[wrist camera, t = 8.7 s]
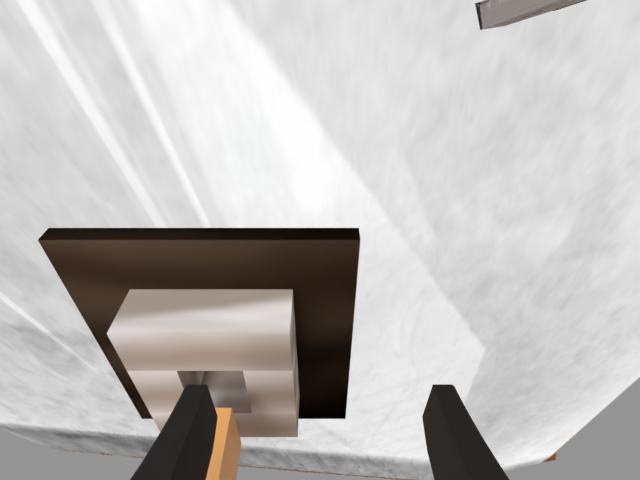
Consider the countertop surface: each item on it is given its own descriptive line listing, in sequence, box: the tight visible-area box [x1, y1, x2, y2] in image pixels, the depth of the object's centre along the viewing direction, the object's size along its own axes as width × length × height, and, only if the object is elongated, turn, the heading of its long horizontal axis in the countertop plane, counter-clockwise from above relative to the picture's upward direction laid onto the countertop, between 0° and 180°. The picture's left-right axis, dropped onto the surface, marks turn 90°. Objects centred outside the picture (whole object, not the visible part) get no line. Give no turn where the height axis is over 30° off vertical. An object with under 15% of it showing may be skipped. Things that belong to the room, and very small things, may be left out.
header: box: [38, 228, 360, 437], centre depth 24 cm, size 18×16×4 cm
